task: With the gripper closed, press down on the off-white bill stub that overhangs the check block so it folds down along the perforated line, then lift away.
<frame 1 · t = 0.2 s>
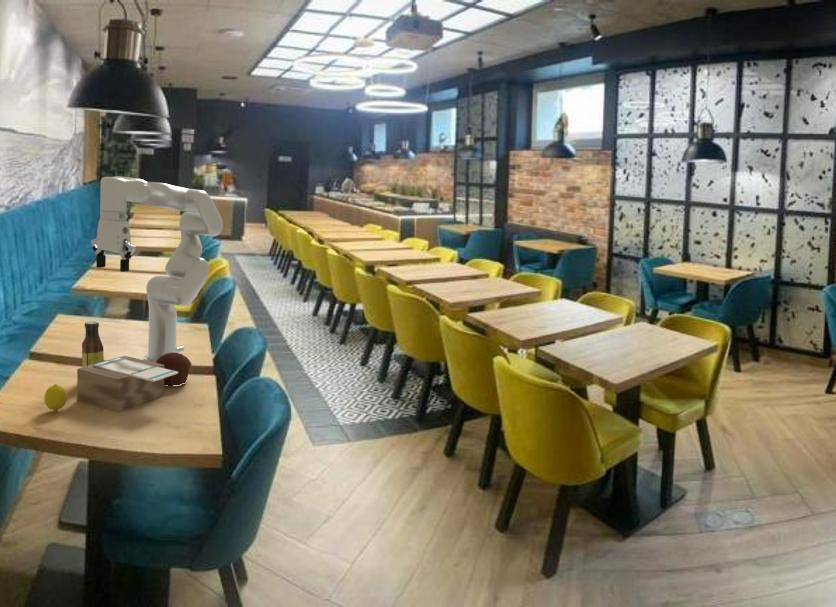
hand: (112, 269, 206), 37 cm above the table, tool pointing down, fingers open, 9 cm apart
sauce bottle: (93, 382, 207), on the table
check block: (121, 397, 195), on the table
stub: (155, 373, 189), point 10 cm above the table, hinge at 0.0°
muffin: (172, 383, 213), on the table
lemon: (55, 411, 180), on the table
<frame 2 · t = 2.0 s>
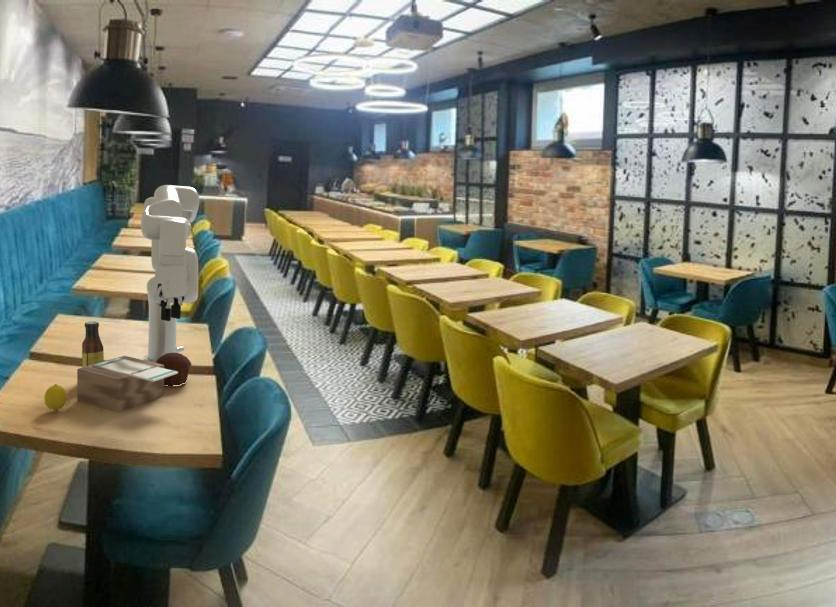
hand: (170, 318, 195), 25 cm above the table, tool pointing down, fingers open, 3 cm apart
nothing on the table moved.
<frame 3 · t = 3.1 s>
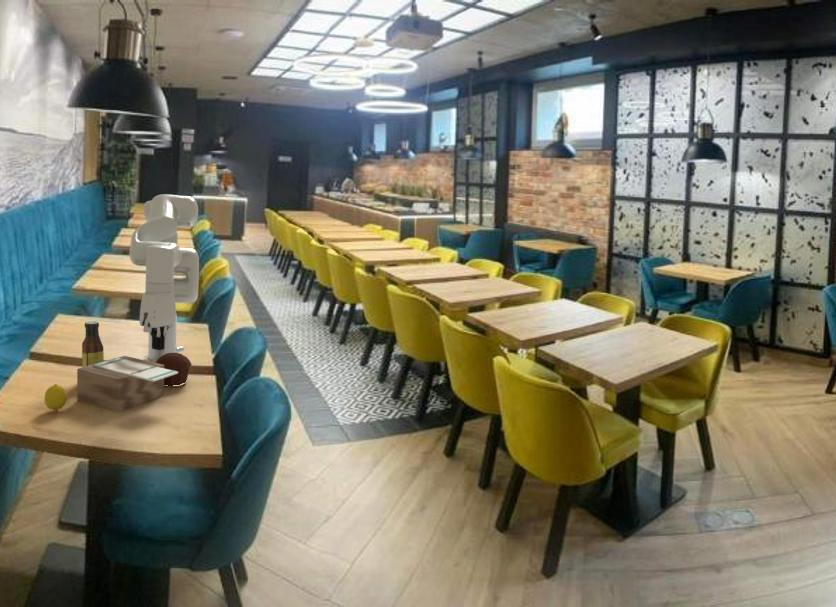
hand: (158, 348, 187), 18 cm above the table, tool pointing down, fingers closed
nothing on the table moved.
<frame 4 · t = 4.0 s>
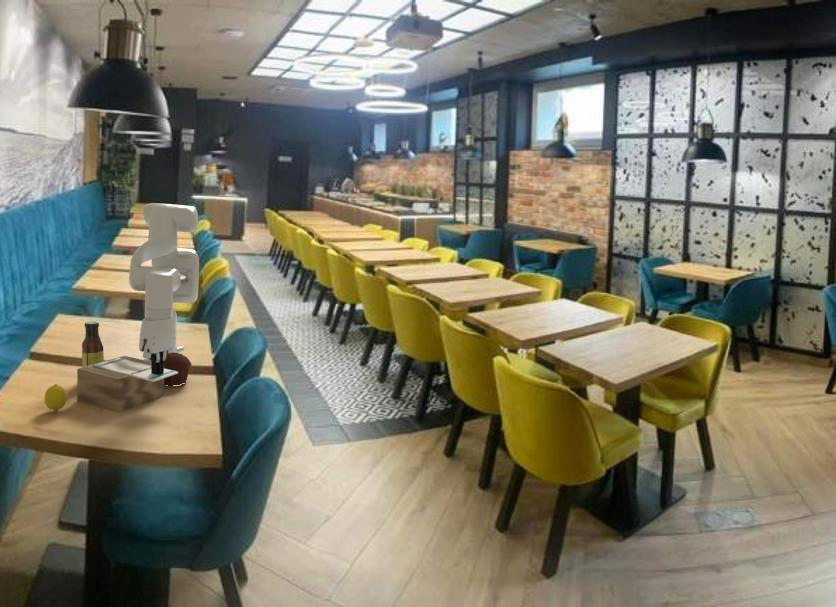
hand: (157, 373, 189), 11 cm above the table, tool pointing down, fingers closed
stub: (155, 373, 189), point 10 cm above the table, hinge at 0.0°, touching gripper
everything else where it was.
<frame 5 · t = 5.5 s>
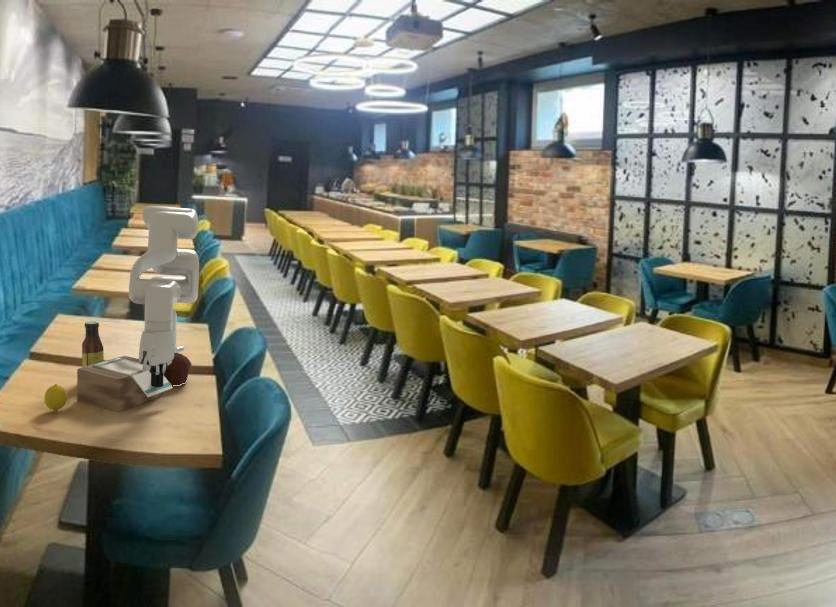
hand: (157, 386, 188), 7 cm above the table, tool pointing down, fingers closed
stub: (152, 382, 190), point 8 cm above the table, hinge at 39.3°, touching gripper
everything else where it was.
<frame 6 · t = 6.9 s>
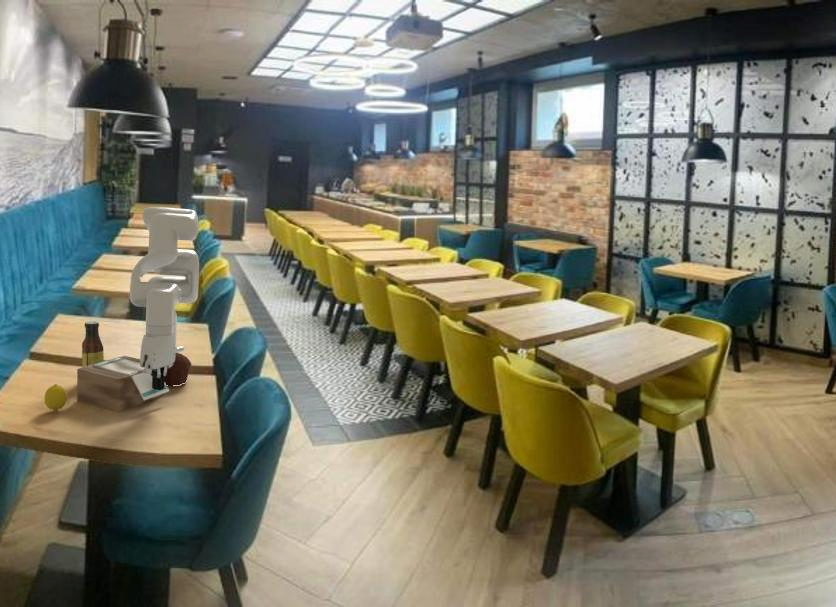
hand: (158, 388, 190), 6 cm above the table, tool pointing down, fingers closed
stub: (150, 383, 190), point 7 cm above the table, hinge at 52.8°
everything else where it was.
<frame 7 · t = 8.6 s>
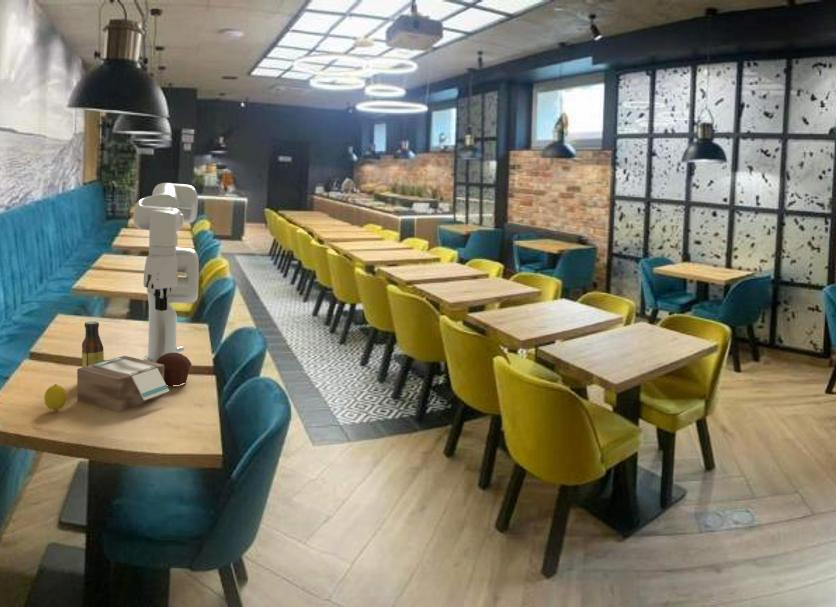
hand: (161, 309, 196), 28 cm above the table, tool pointing down, fingers closed
nothing on the table moved.
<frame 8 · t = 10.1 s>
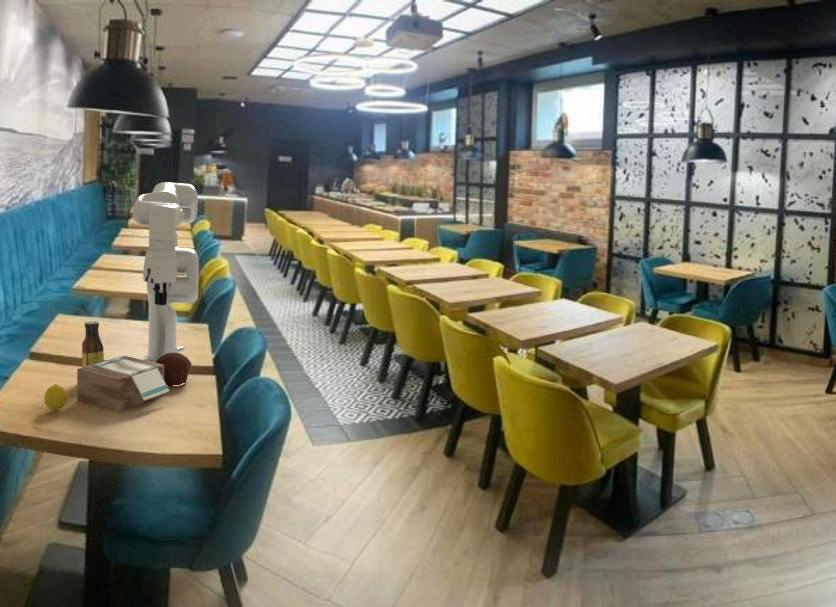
hand: (160, 304, 196), 29 cm above the table, tool pointing down, fingers closed
nothing on the table moved.
at the end: stub at +53° (first picture: +0°); stub touching nothing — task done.
